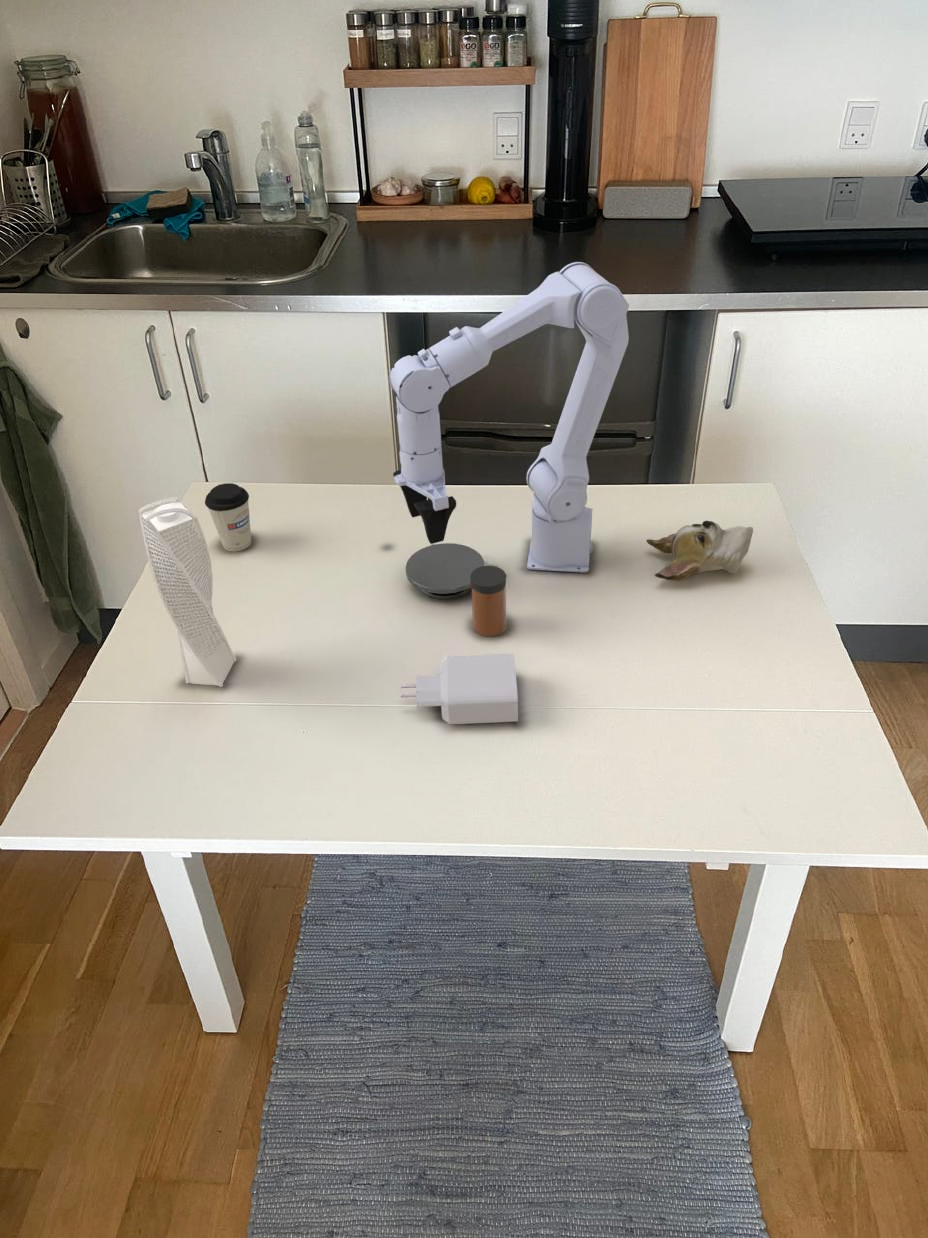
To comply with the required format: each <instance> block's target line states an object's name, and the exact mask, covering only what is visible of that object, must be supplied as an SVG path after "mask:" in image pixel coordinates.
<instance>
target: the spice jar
mask: <svg viewBox="0 0 928 1238" xmlns="http://www.w3.org/2000/svg"><path fill="white" fill-rule="evenodd" d="M470 577H471V590H470V592H471V611H472V613H471V615H472V628H473V631H474V632H475V633H476V634H478V635H480V636H483V637H496V636H499V635H501V634H503V633H504V632H505V630H506V629H507V574H506V572H505V570H504V569H503V568H501V567H499V566H497V565H485V566H482V567H479V568H476V569H475V570H474V571H473V572H472V573H471V576H470Z"/></svg>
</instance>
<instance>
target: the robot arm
mask: <svg viewBox="0 0 928 1238" xmlns="http://www.w3.org/2000/svg"><path fill="white" fill-rule="evenodd" d="M629 308H630V304H629V302H628V300H626V298H625V296H624V295H623V293H622V292H621V290H620V289H619V288H618V287H617V286H616V285H615V284H613V283H610V282H609V281H608V280H606V278H604V277H603V276H601V274H599V273H597V271H595V270H594V269H593V268H592V266H591V265H589V264H587V263H585V262H582V261H574V262H571V263H569V264H566V265H564V266H563V268H561V270H559V271H555V272H553V273H551V274H549V275H548V276H547V277H546V278H545V279H544V280H543V282H542V283H541V284H540V285H539V286H538V287H536V289H534V290H533V291H532V292H530V293H528V294H527V295H525V296H524V297H523V298H521V299H520V300H518V301H517V302H515V303H514V304H513V305H511V306H509V307H508V308H507V309H505V310H504V311H503V312H501V313H499V314H498V315H497V316H495V317H494V318H492V319H491V320H489V321H488V322H487V323H485V324H483V325H482V326H480V327H473V326H469V325H465V326H464V327H462V328H459V327H457V326H455V327H454V328H452V329H450V330H449V331H448V333H449V336H447V337H445V338H443V339H442V340H440V341H439V342H437V343H435V344H433V345H432V346H430V347H428V348H427V349H425V348H422V349H421V350H419V351H417V355H416V354H413V355H412V356H411V355H406V356H403V357H401V358H400V359H398V360H397V361H396V362H395V363H394V364H393V365H394V367H392V368H391V371H390V374H389V376H388V377H387V380H388V383H389V385H390V387H391V389H392V390H393V391H394V393H396V396H395V401H396V411H397V413H396V421H397V432H398V433H397V434H398V442H399V452H398V453H399V462H400V469H397V470H395V471H394V472H393V474H392V476H393V478H394V483H395V484H396V485H397V486H398V487H400V489H401V491H402V494H403V496H404V499H405V503H406V506H407V509H408V512H409V513H410V516H411V517H412V518H416V517H421V520H422V523H423V526H424V530H425V534H426V539H427V541H428V543H429V544H430V545H434V544H438V543H441V542H443V541H444V540H445V537H446V532H447V528H448V523H449V522H450V521H449V520H450V518H451V516H452V514H453V512H454V511H455V509H456V508H457V500H456V499H455V497H454V496H453V495H450V496H449V495H448V493H447V491H446V473H445V472H446V471H445V469H444V465H443V463H444V462H443V449H442V434H441V419H440V418H441V417H440V411H439V404H440V403H441V402H442V400H443V397H444V395H445V393H446V392H448V391H449V389H451V388H452V387H454V386H456V385H457V384H460V383H461V382H462V381H464V380H466V379H468V378H469V377H471V376H472V375H474V374H476V373H477V372H479V371H481V370H483V369H484V368H485V367H487V366H489V363H490V360H491V357H492V355H493V352H495V351H497V350H499V349H501V348H503V347H504V346H506V345H508V344H511V343H512V342H514V341H516V340H517V339H520V338H522V337H523V336H525V335H528V334H530V333H531V332H533V331H535V330H537V329H539V328H541V327H542V326H545V325H552V326H558V327H563V328H567V329H574V328H575V324H576V325H577V327H578V329H579V330H580V332H581V334H582V335H583V337H584V339H585V344H584V348H583V350H582V354H581V357H580V359H579V362H578V365H577V368H576V371H575V374H574V377H573V380H572V381H571V386H570V388H569V391H568V394H567V396H566V400H565V403H564V405H563V409H562V411H561V415H560V418H559V420H558V424H557V426H556V429H555V433H554V435H553V437H552V441H551V443H550V444H548V445H545V446H543V447H542V448H540V451H539V454H538V456H537V458H536V460H534V461H533V463H532V464H531V465H530V466H529V468H528V470H527V472H526V485H527V486H528V488H529V489H530V490H531V492H533V500H532V503H531V540H530V543H529V544H530V545H529V550H528V556H527V563H526V568H527V570H533V571H534V570H535V571H549V572H550V571H551V572H570V573H589V571H590V558H591V554H593V545H594V541H593V540H592V527H593V508H592V507H587V502H588V494H587V488H588V484H589V482H590V474H589V468H588V461H587V456H588V455H589V451H590V449H591V445H592V443H593V440H594V438H595V434H596V432H597V430H598V427H599V423H600V421H601V418H602V415H603V412H604V410H605V408H606V404H607V402H608V399H609V397H610V394H611V391H612V388H613V386H614V383H615V380H616V379H617V375H618V372H619V370H620V367H621V364H622V361H623V358H624V356H625V353H626V351H627V347H628V345H629V341H630V336H629V335H630V334H629V327H628V318H627V317H628V316H627V313H628V311H629Z"/></svg>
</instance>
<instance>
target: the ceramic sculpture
mask: <svg viewBox="0 0 928 1238" xmlns="http://www.w3.org/2000/svg"><path fill="white" fill-rule="evenodd" d="M753 528H754V527H752V526H747V527H746V526H738V525H737V526H734V527H729V528H726V529H722V527H721V526H720V525H719V524H718V523H716V522H714V521H711V520H704V521H702V523H693V524H691V525H689V524H687V525H684V526H682V527H681V528H679V529H678V530H677V531H676V532H675V533H671V534H668V535H667V536H663V537H661V538H659V539H653V538H652V539H646V543H647V544H648V545H650V546H651V547H653V548H654V549H655V550H658V551H660V552H662V553H664V554H670V555H671V558H672V560H671V561H669V562H668V563H666V564H665V566H664V567H663V568H662V569H661V570H660V571H659V572H656V573H655V574H654V577H655V578H657V579H663V580H669V581H678V582H679V581H684V580H686V579H688V578H691V577H692V576H693V575H695V574H699V573H705V572H709V571H717V570H724V571H727V573H729V574H736V573H737V572H738V571H739V568H740V566H741V563H742V562H743V559H744V558H745V557H746V556H747V554H748V552H749V550H750V546H751V541H752V536H753V533H754V529H753Z"/></svg>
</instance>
